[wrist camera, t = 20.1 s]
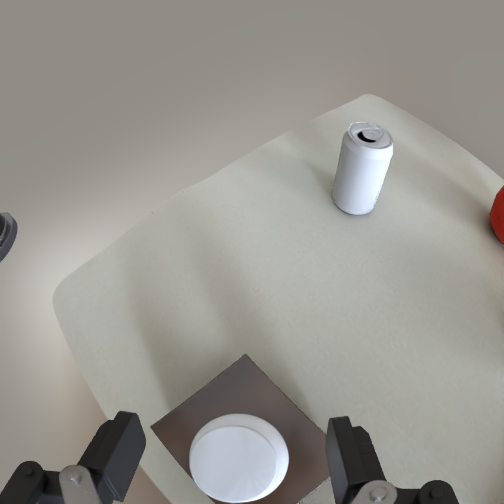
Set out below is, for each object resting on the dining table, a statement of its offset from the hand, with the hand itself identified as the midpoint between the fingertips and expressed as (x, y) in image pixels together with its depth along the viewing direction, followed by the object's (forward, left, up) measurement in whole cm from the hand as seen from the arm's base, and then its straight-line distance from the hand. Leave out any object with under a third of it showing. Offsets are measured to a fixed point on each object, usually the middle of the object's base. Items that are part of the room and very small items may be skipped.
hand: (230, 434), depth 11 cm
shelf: (0, -1, -19) cm, 19 cm away
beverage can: (+22, +25, -19) cm, 38 cm away
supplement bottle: (0, -1, -11) cm, 11 cm away
